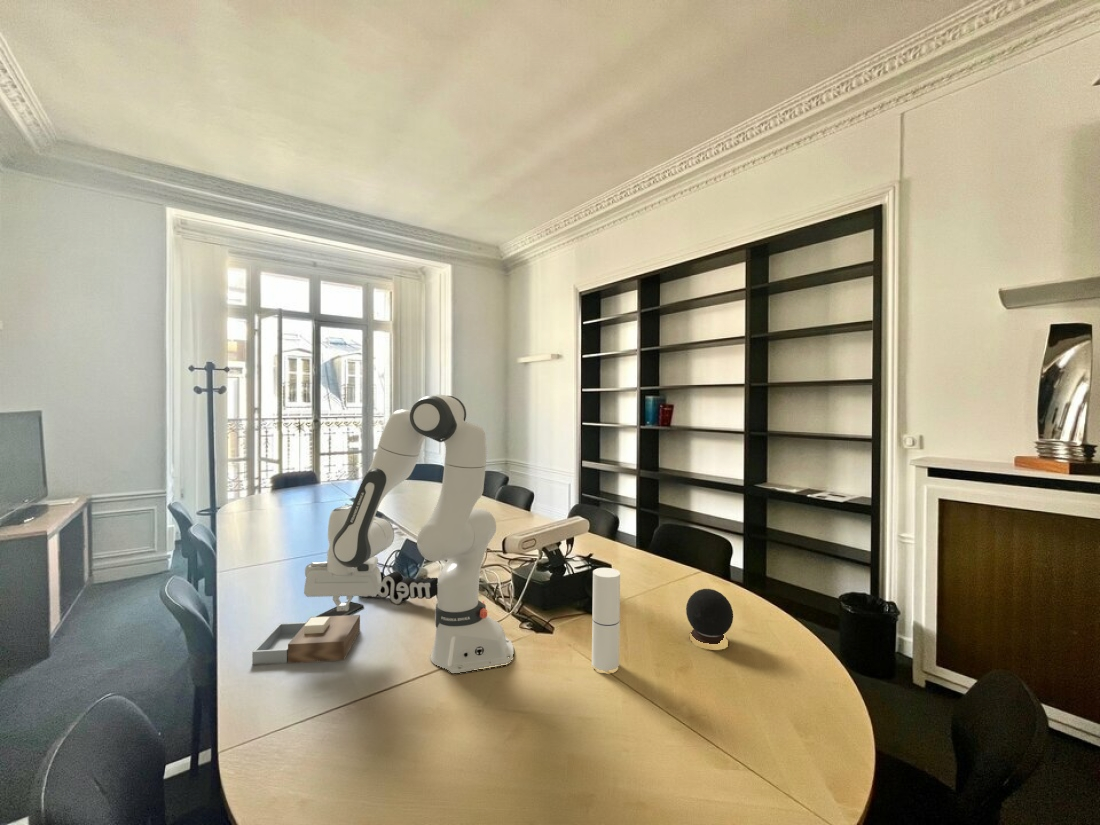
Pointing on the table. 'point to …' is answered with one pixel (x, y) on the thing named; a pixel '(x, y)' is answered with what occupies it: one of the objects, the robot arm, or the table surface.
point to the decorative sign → (406, 588)
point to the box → (276, 644)
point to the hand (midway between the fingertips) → (342, 610)
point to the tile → (316, 625)
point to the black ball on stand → (709, 615)
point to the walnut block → (325, 641)
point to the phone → (352, 609)
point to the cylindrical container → (605, 618)
